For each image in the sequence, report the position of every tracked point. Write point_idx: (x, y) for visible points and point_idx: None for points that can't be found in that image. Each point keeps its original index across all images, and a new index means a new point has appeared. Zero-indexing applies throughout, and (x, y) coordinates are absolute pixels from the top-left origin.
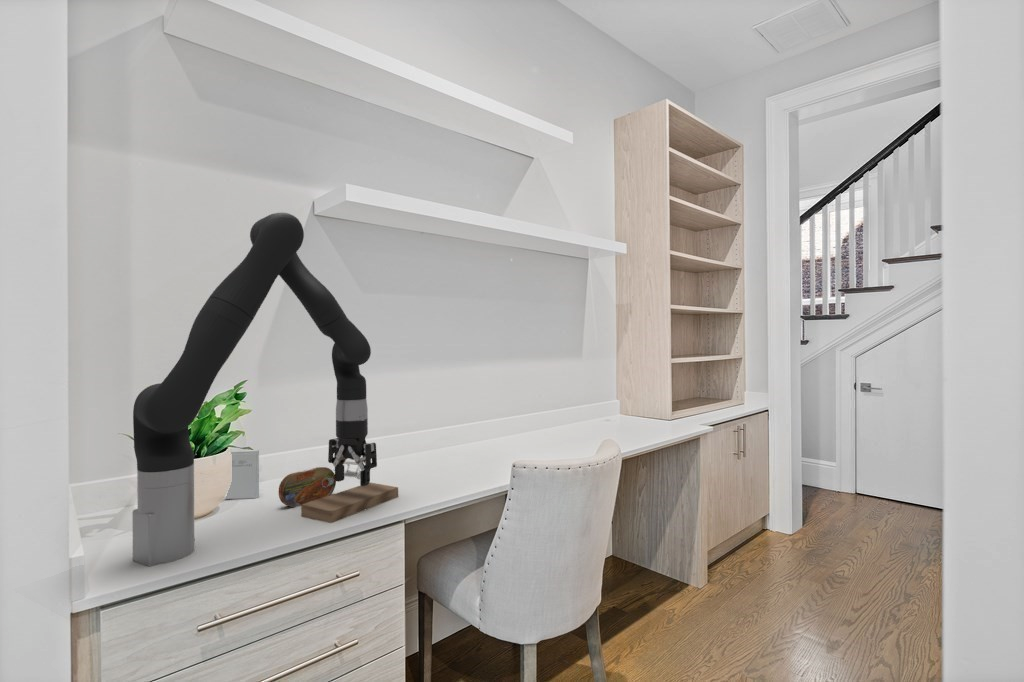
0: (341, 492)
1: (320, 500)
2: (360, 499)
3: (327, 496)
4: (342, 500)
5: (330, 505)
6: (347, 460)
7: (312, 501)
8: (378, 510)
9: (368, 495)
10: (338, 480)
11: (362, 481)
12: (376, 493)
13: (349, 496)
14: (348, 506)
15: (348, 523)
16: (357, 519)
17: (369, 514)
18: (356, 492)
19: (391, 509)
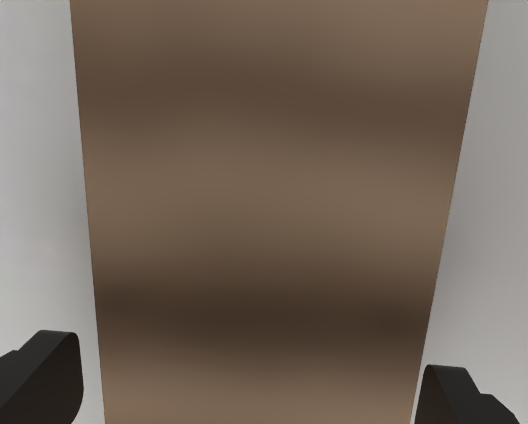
0: (405, 340)
1: (417, 87)
2: (118, 257)
3: (441, 208)
4: (228, 176)
5: (210, 10)
6: None
7: (471, 23)
8: (81, 291)
9: (147, 356)
10: (429, 375)
11: (15, 356)
12: (132, 410)
13: (259, 283)
14: (81, 94)
15: (37, 6)
16: (53, 101)
17: (67, 212)
18: (288, 380)
19: (31, 333)
